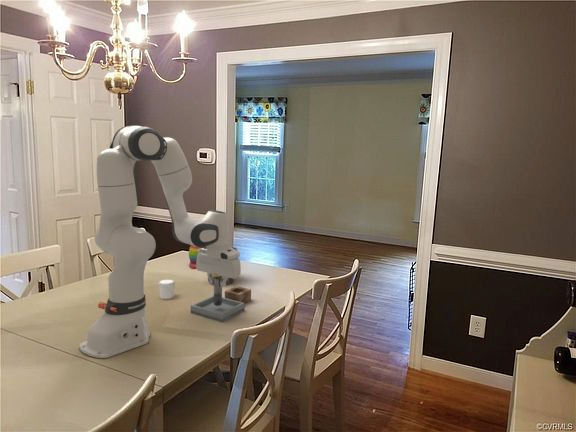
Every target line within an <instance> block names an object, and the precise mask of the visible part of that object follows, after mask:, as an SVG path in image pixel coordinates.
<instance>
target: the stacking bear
mask: <svg viewBox="0 0 576 432" xmlns="http://www.w3.org/2000/svg"><path fill="white" fill-rule="evenodd" d="M200 248H204V249H206V246H205V247H196V246H192V245H190V247H189V250H188V258H189V264H188V266H189V268H190V269H192V270H197V268H196V261H197V256H198V250H199V249H200Z"/></svg>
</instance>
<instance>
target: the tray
mask: <svg viewBox="0 0 576 432" xmlns="http://www.w3.org/2000/svg"><path fill="white" fill-rule="evenodd" d="M245 304H246V303H242V302H238V301H235V300H231V299H227V298H225V297H223V296H222V305H220V306H215V305H214V295H211V296H209V297H206V298H205V299H203V300H201V301H197V302H196V303H194V304H193V303H192V304H191V305H190V314H194V315H196V316H197V315H198V316H201V317H203V318H208V319H210V320H214V321H217V322H221V323H224V322H225V321H227V320H229V319H230V318H232V317H234V316H236V315H238V314H240V313H242V312H244V311H245Z"/></svg>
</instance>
